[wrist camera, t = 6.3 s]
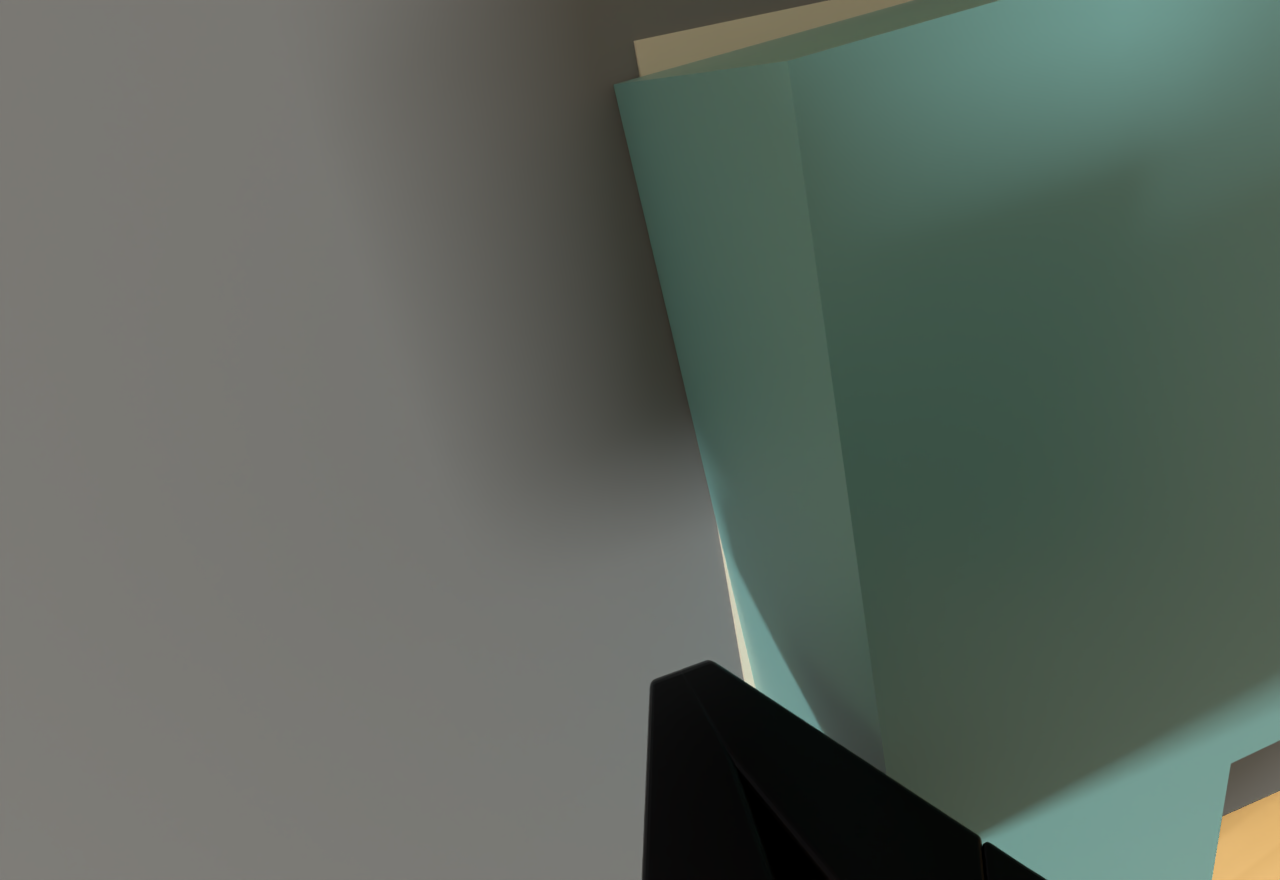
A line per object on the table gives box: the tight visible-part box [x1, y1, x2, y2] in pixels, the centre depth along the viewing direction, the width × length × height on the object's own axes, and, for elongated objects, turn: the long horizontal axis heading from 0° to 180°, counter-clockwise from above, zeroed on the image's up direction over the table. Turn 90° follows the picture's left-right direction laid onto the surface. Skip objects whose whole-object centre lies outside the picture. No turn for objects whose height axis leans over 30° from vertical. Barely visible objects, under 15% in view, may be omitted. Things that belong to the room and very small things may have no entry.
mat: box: [0, 0, 1280, 880], centre depth 11 cm, size 22×26×1 cm
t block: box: [613, 0, 1280, 880], centre depth 9 cm, size 12×12×4 cm
